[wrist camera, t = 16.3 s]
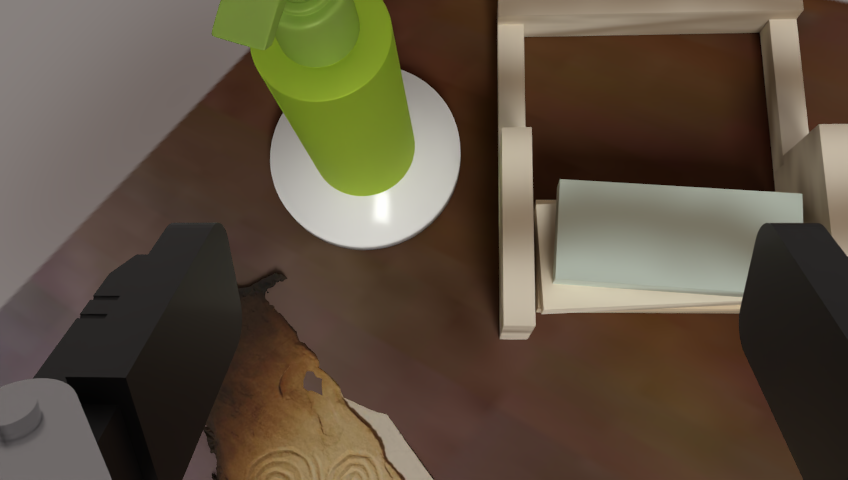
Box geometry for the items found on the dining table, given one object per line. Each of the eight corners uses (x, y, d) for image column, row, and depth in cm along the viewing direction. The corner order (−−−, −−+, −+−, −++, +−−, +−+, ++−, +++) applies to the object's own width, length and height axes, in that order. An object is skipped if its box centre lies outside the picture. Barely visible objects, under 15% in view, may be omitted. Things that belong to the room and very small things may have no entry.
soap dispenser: (292, 196, 43) (147, 10, 24) (333, 88, 45) (228, -169, 25) (389, 226, 43) (321, 60, 23) (428, 116, 44) (395, -128, 25)
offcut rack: (818, 341, 41) (876, 328, 35) (499, 339, 42) (503, 325, 36) (783, 9, 45) (828, -52, 40) (497, 15, 47) (500, -44, 41)
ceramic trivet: (379, 288, 43) (376, 284, 42) (237, 175, 45) (231, 168, 44) (498, 142, 45) (499, 135, 43) (356, 40, 47) (353, 30, 46)
